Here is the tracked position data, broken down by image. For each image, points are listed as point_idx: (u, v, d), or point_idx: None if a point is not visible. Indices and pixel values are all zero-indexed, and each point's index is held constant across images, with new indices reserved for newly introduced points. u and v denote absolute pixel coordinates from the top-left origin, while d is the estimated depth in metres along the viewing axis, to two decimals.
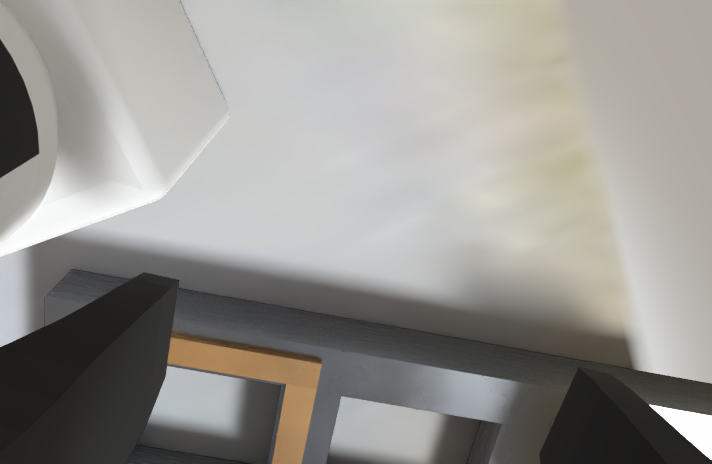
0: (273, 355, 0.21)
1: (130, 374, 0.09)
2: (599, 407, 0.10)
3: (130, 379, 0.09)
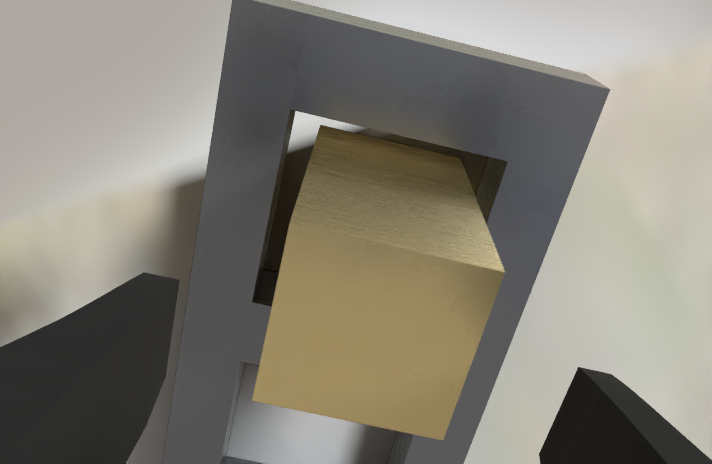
0: None
1: (130, 374, 0.09)
2: (599, 407, 0.10)
3: (130, 378, 0.09)
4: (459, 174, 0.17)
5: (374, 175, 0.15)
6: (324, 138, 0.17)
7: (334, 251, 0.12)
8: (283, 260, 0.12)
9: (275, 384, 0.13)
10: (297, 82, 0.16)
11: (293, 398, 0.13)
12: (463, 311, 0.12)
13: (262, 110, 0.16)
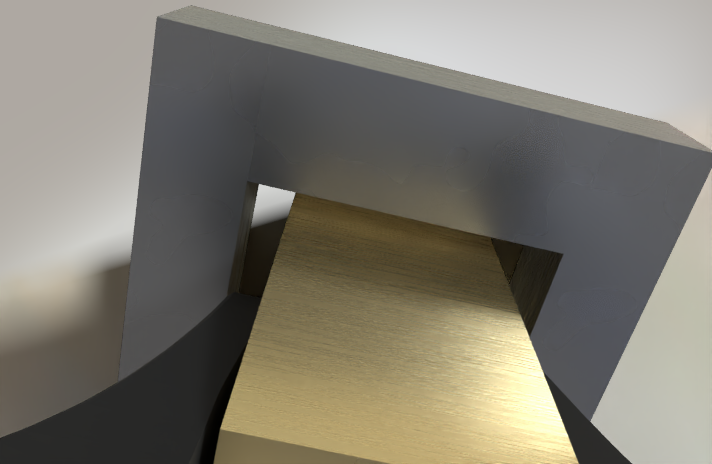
0: None
1: None
2: None
3: None
4: (491, 268, 0.12)
5: (371, 284, 0.10)
6: (300, 217, 0.12)
7: None
8: None
9: None
10: (256, 143, 0.11)
11: None
12: None
13: (207, 183, 0.11)
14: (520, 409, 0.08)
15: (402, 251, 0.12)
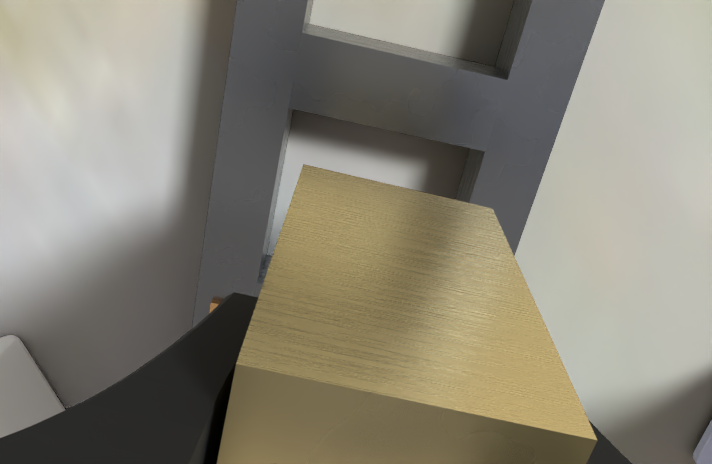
0: None
1: None
2: None
3: None
4: (495, 236, 0.12)
5: (378, 247, 0.10)
6: (308, 187, 0.12)
7: (312, 408, 0.07)
8: (228, 420, 0.07)
9: None
10: None
11: None
12: None
13: None
14: (524, 357, 0.08)
15: (408, 219, 0.12)
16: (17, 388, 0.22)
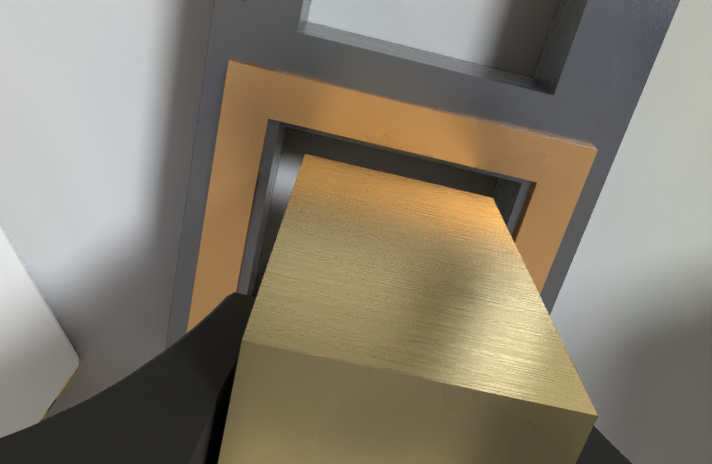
0: (220, 132, 0.14)
1: None
2: None
3: None
4: (495, 224, 0.12)
5: (380, 232, 0.11)
6: (310, 175, 0.12)
7: (317, 385, 0.07)
8: (233, 397, 0.07)
9: None
10: None
11: None
12: None
13: None
14: (525, 337, 0.09)
15: (409, 207, 0.12)
16: None
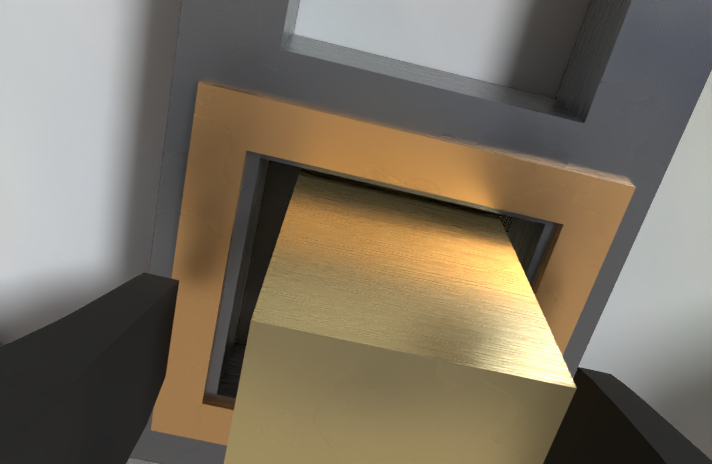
0: (190, 166, 0.12)
1: (130, 374, 0.09)
2: (599, 407, 0.10)
3: (130, 379, 0.09)
4: (488, 214, 0.13)
5: (378, 223, 0.11)
6: (312, 170, 0.13)
7: (319, 361, 0.08)
8: (243, 372, 0.08)
9: None
10: None
11: None
12: (512, 442, 0.08)
13: None
14: (512, 319, 0.09)
15: (406, 198, 0.13)
16: None
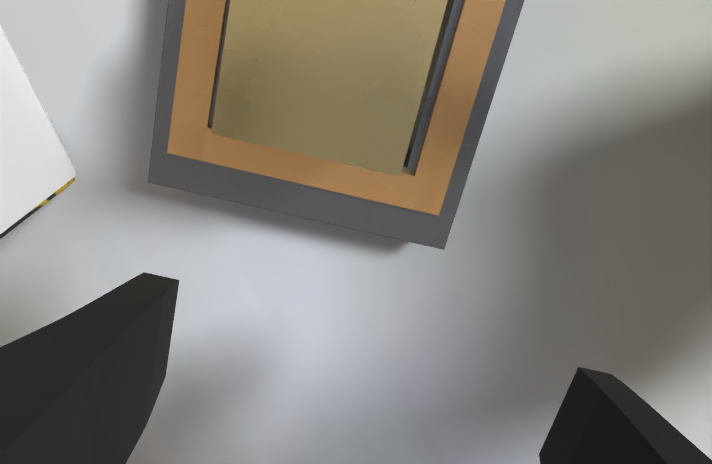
0: None
1: (130, 374, 0.09)
2: (599, 407, 0.10)
3: (130, 379, 0.09)
4: None
5: None
6: None
7: None
8: None
9: (233, 114, 0.13)
10: None
11: (252, 130, 0.13)
12: (414, 24, 0.12)
13: None
14: None
15: None
16: None
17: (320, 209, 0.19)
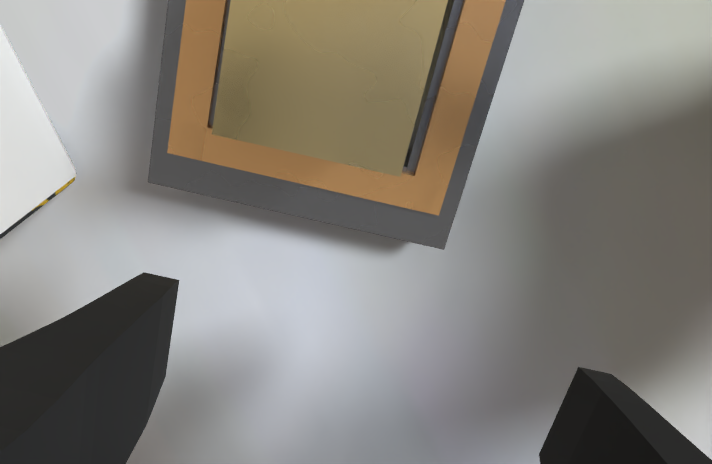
0: None
1: (130, 374, 0.09)
2: (599, 407, 0.10)
3: (130, 379, 0.09)
4: None
5: None
6: None
7: None
8: None
9: (234, 115, 0.13)
10: None
11: (252, 131, 0.13)
12: (415, 24, 0.13)
13: None
14: None
15: None
16: None
17: (320, 209, 0.19)
